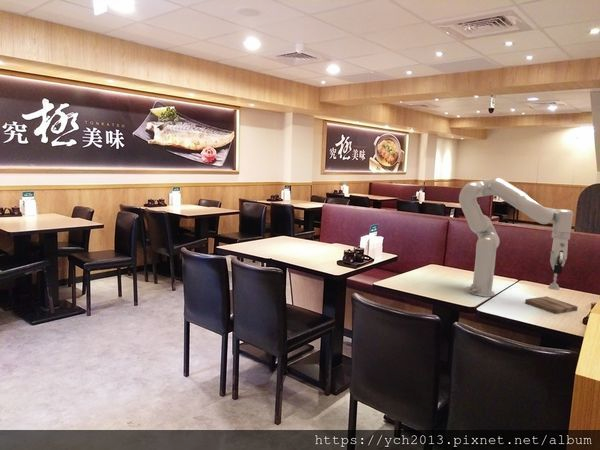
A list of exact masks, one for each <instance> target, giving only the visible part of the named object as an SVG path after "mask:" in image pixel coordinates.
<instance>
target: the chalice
mask: <svg viewBox="0 0 600 450" xmlns="http://www.w3.org/2000/svg"><path fill="white" fill-rule="evenodd" d="M549 252H550V259H549V263H550V267H551V266H552V269H553V270H552V271H554V266H555V264H556V259H555V258H554V253H553V252H552V250H550V251H549ZM567 255H568V252H567ZM557 259H559V258H557ZM557 262H558V260H557ZM565 264H566V260H564V257H563V265H562V268H563V267H564V265H565ZM557 277H558V274H557V273H554V274H553V278H552V279H553V281H552V283H550V284H549V285H548V287H547V288H548V289H549V290H553V291H559V290H560V291H561V289H560V286H559V284H558V283H557V280H558V279H557Z"/></svg>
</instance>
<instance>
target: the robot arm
mask: <svg viewBox="0 0 600 450" xmlns="http://www.w3.org/2000/svg"><path fill="white" fill-rule="evenodd" d="M494 195H495V196H496V197H498V198H500V199H501V200H503V201H504V202H506V203H507V204H509V205H510V206H512V207H514V208H515V209H516V210H518V211H520V212H521V213H523V214H524V215H526V216H527V217H529V218H530V219H532V220H534V221H535V222H536V223H539V224H542V225H548V224H549V223H552V230H551V231H552V232H551V238H553V240H552V246H551V251H552V252H553V253H554V258H555V259H556V264H555V266H554V270H553V269H552V266H551V265H550V270H551V271H553V273H554V274H555V273H557V275H558V274H560V275H561V274H562V271H563V267H562V265H563V257H564V260H565V261H566V260H567V259H568V254H567V253H568V249H569V247H568V246H569V240H571V231H572V225H573V219H574V212H573V210H570V209H566V208H565V209H563V208H562V209H561V208H560V209H559V208H552V207H548V206H547V207H546V206H543V205H542V204H541V203H538V202H537V201H535V200H534V199H532V198H531V197H530V195H528V194H527V192H525V191H524V190H522V189H520V188H518V187H516V186H515V185H513V184H512V183H510V182H508V181H507V179H505V178H504V177H495V178H490V179H485V180H477V181H476V180H475V181H470V182H468V183H466V184H465V185H463V187H462V188H461V190H460V192H459V197H458V201H459V205H460V208H461V210H462V213H463V214H464V217H465V219H466V222H467V224H468V226H469V229H470V230H471V231H472V232H473V233H474V234H476V236H477V238H478V239H477V241H476V245H475V261H474V262H475V263H474V269H473V279H472V284H471V285H470V286H467V287H466V288H465V289H466V291H467V292H469V293H470V294H471V295H475V296H478V297H483V298H485V297H486V298H487V297H488V298H489V297H494V296H495V292H494V291H493V283H494V274H495V267H496V258H497V255H496V254H497V248H498V247H499V245H500V240H501V239H500V237H499V235H498V233H497V230H496V228H495V227H494V225H493V222H492V220H491V218H490V217H489V216H487V215H485V214H484V213H483V212H482V210H481V207H480V205H479V203H478V201H477V198H479V197H487V196H488V197H489V196H494ZM557 258H559V259H557ZM557 260H558V262H557Z"/></svg>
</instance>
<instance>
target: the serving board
mask: <svg viewBox="0 0 600 450" xmlns="http://www.w3.org/2000/svg"><path fill="white" fill-rule="evenodd" d="M524 304H526V305H529V306H532V307H533V308H538V309H540V310H542V311H543V310H544V311H546V312H549V313H551V314H555V315H558V314H563V313H571V312H574V311H575V312H576V311H578V307H579V306H577V305H574V304H571V303H567V302H566V301H561V300H559V299H557V298H556V299H555V298H554V297H549V296H547V295H546V296H540V297H533V298H526V299H525V302H524Z"/></svg>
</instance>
